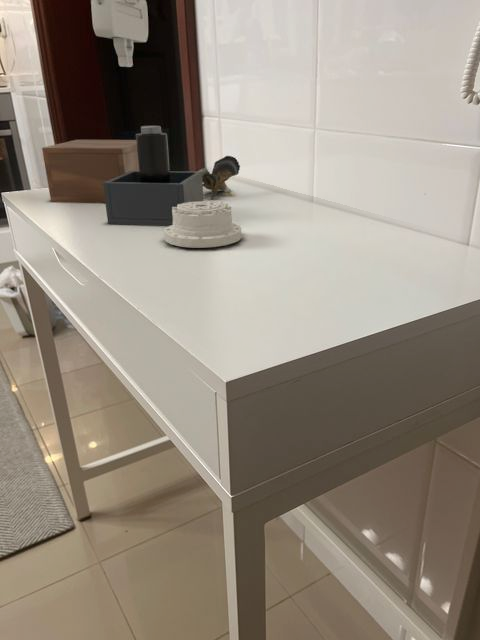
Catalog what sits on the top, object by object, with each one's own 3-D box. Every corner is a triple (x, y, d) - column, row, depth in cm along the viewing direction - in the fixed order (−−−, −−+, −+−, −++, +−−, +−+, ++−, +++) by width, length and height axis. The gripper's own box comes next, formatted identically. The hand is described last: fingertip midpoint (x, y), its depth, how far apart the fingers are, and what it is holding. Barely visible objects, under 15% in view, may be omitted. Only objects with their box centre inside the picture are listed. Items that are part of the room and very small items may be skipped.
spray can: (139, 213, 83) (130, 127, 78) (148, 207, 87) (140, 125, 82) (167, 214, 83) (161, 127, 77) (175, 208, 87) (169, 125, 81)
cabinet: (83, 187, 108) (77, 139, 104) (152, 188, 107) (148, 140, 103) (50, 201, 96) (41, 147, 92) (127, 203, 94) (121, 148, 91)
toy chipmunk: (244, 193, 96) (249, 175, 103) (219, 157, 93) (227, 141, 100) (209, 215, 99) (217, 196, 106) (184, 182, 96) (194, 164, 103)
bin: (107, 224, 81) (102, 182, 78) (134, 207, 91) (130, 170, 89) (185, 226, 79) (183, 184, 77) (203, 209, 90) (202, 171, 87)
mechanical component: (199, 255, 66) (257, 239, 73) (197, 217, 64) (257, 204, 71) (149, 240, 72) (206, 227, 79) (145, 206, 70) (204, 195, 77)
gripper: (113, -29, 92) (122, 65, 99) (151, -11, 111) (157, 67, 117) (77, -27, 93) (88, 65, 99) (120, -10, 111) (128, 67, 118)
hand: (126, 66), depth 108 cm, fingers closed
